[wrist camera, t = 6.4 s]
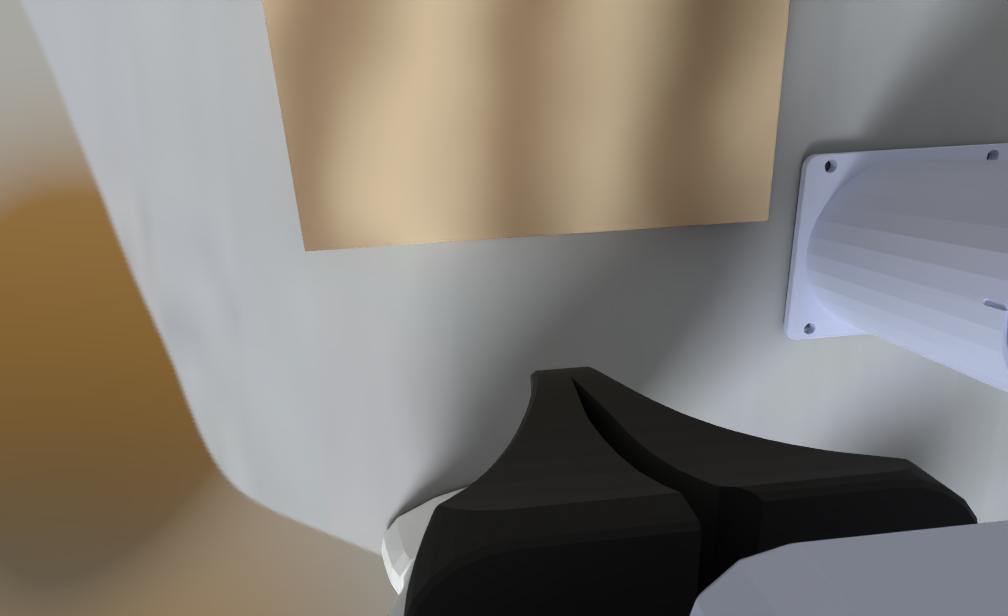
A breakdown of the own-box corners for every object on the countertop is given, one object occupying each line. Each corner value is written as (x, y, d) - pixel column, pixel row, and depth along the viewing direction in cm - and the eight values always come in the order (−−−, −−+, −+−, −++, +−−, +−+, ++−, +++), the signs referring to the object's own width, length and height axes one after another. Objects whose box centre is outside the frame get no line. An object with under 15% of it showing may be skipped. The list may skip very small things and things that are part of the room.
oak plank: (771, -59, 18) (797, -77, 17) (747, 216, 21) (767, 220, 20) (269, -43, 17) (251, -61, 16) (316, 244, 20) (305, 251, 19)
